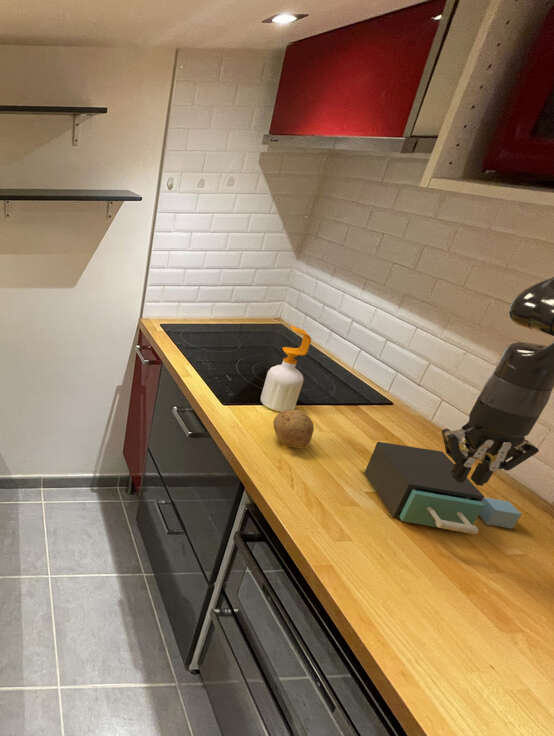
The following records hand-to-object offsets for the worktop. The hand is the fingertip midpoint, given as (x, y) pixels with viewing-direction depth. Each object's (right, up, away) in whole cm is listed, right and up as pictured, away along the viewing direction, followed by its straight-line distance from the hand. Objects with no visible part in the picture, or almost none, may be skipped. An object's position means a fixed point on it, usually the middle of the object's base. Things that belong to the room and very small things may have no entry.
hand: (466, 480), depth 83 cm
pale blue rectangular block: (+15, -11, +10) cm, 21 cm away
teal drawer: (+1, -10, +10) cm, 14 cm away
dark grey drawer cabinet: (+2, -9, +15) cm, 17 cm away
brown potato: (-14, -1, +32) cm, 35 cm away
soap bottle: (-7, +7, +49) cm, 50 cm away
